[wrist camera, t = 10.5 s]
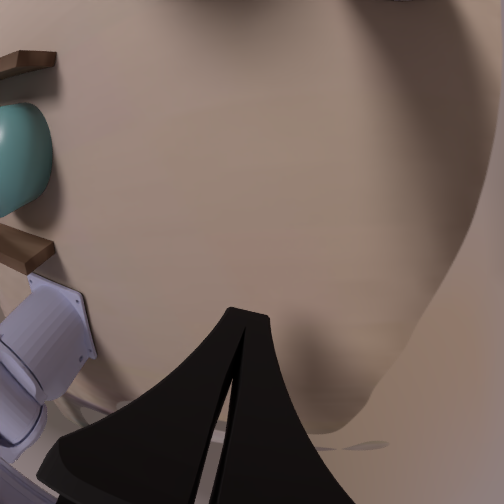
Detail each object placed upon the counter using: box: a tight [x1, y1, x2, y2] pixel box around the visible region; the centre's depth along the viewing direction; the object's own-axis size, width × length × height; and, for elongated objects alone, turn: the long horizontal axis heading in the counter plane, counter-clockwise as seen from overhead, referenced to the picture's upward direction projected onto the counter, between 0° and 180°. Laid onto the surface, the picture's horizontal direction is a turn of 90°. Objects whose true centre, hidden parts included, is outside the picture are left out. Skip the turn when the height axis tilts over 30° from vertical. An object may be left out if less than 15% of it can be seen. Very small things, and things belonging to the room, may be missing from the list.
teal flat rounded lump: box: [0, 102, 52, 218], centre depth 16 cm, size 9×9×4 cm
